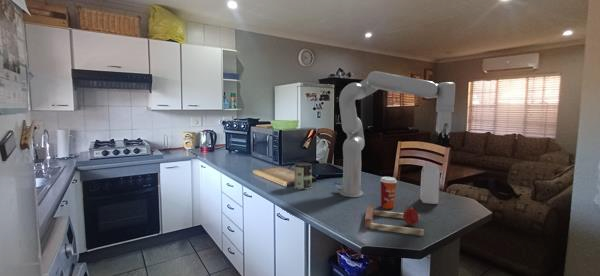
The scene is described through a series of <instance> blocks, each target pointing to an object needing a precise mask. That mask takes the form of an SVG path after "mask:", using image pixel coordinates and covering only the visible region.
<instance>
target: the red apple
mask: <svg viewBox="0 0 600 276" xmlns="http://www.w3.org/2000/svg"><path fill="white" fill-rule="evenodd" d="M403 213H404V214H403V218H404V219H403V218H402V219H403V221H404V223H406V224H408V226H409V227H412V226H414V225H415V224H417V223H418V222H419V221H420V218H419V216H418V215H419V214H418V212H417V211H416V210H415V209H414V206H410V207H409V208H407V209H406V210H405V211H404V212H403Z"/></svg>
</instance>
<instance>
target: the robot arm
mask: <svg viewBox="0 0 600 276" xmlns="http://www.w3.org/2000/svg"><path fill="white" fill-rule="evenodd" d="M378 90H380V91H381V90H383V91H387V92H390V93H396V94H407V95H413V96H418V97H422V98H423V99H424V98H425V99H434V98H436V107H435V112H436V113H437V114H436V115H437V116H436V125H435V131H436V133H437V140H436V141H437V145H438V144H439V145H440V146H442V147H449V146H450V133H451V129H452V113H454V112H455V101H456V100H455V99H456V83H455V82H453V81H451V82H450V81H449V82H448V81H445V82H440V83H435V82H433V81H432V80H431V81H430V80H425V79H421V78H415V77H409V76H408V77H407V76H406V75H405V76H404V75H399V74H392V73H389V72H383V71H376V70H374V71H371V72H370V73H369V74H368V75H367V77H366V78H365V79H364V80H362V81H360V82H351V83H348V84H347V85H346V86H344V87H343V89H341V91H340V94H339V97H338V101H339V102H338V104H339V112H340V120H341V128H342V131H343V132H344V133H345V134H346V137H347V138H346V139H345V140H344V142H343V145H342V157H343V159H342V160H343V168H342V169H343V171H342V173H343V174H342V184H340V185H339V184H335V186H334V188H335V189H336V190H340V191H339V195H341V196H344V197H348V198H361V197H362V196H364V192H363V190H361V187H362V186H361V182H362V181H361V179H362V150H363V149H364V147H365V146H366V145H365V141H366V140H365V135H364V127H363V123H362V120H361V119H360V118H359V116H358V114H357V107H356V100H362V99H364V98H366V97H368V96H369V95H372V94H373V93H375V92H377V91H378Z"/></svg>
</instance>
